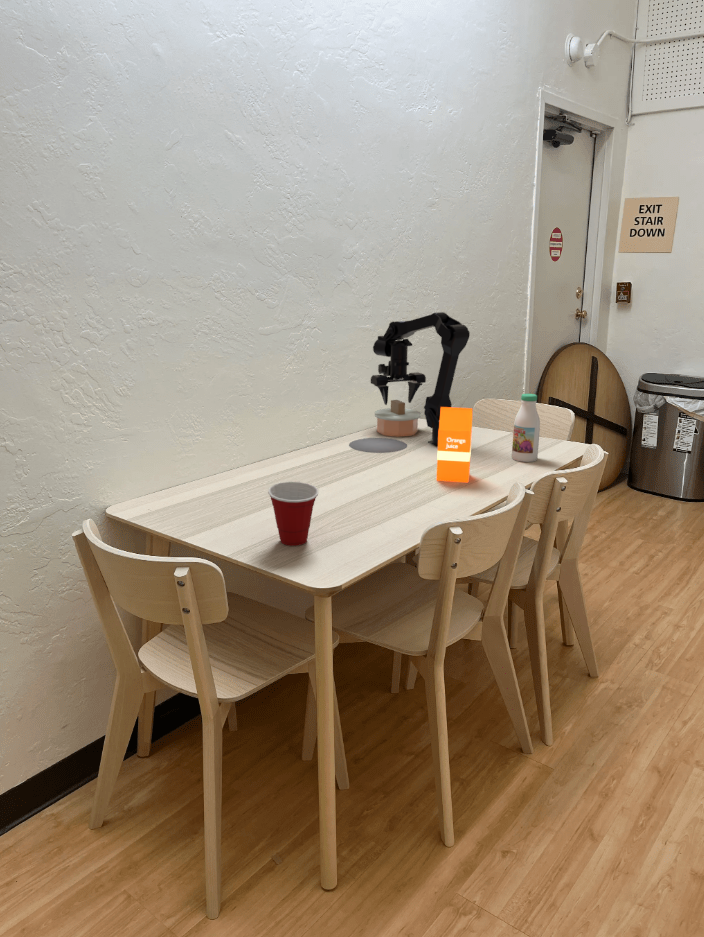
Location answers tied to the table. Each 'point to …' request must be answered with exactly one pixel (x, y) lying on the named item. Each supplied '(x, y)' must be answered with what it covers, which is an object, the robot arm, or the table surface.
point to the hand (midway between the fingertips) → (397, 403)
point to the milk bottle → (526, 430)
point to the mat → (378, 445)
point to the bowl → (397, 427)
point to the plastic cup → (293, 510)
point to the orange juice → (454, 444)
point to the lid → (397, 412)
